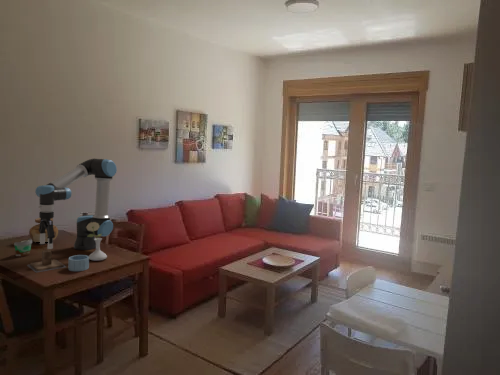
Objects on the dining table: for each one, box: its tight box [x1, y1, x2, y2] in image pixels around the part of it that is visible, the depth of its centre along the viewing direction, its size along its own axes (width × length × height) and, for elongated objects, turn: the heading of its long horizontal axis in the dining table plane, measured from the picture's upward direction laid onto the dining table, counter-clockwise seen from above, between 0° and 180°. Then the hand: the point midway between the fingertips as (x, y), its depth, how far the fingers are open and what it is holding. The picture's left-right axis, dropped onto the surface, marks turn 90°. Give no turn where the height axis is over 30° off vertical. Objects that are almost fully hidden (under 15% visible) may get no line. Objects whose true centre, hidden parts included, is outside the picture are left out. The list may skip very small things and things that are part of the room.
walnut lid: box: [29, 249, 64, 272], centre depth 226 cm, size 14×14×9 cm
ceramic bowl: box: [67, 254, 90, 272], centre depth 225 cm, size 11×11×7 cm
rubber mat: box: [26, 260, 67, 273], centre depth 226 cm, size 17×17×1 cm
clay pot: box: [28, 217, 59, 243], centre depth 279 cm, size 19×19×20 cm
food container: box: [13, 237, 33, 258], centre depth 245 cm, size 12×6×10 cm, turn 168°
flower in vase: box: [86, 222, 108, 262], centre depth 244 cm, size 13×11×25 cm
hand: (46, 246), depth 225 cm, fingers open, 13 cm apart
